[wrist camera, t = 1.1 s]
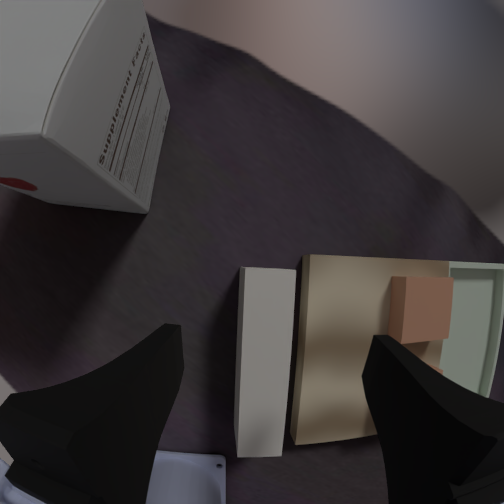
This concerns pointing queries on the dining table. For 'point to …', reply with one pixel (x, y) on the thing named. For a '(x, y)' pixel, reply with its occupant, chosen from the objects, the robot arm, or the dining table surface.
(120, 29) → the supplement box
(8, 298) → the dining table surface
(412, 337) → the tile
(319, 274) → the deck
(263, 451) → the push bar
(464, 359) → the tray
